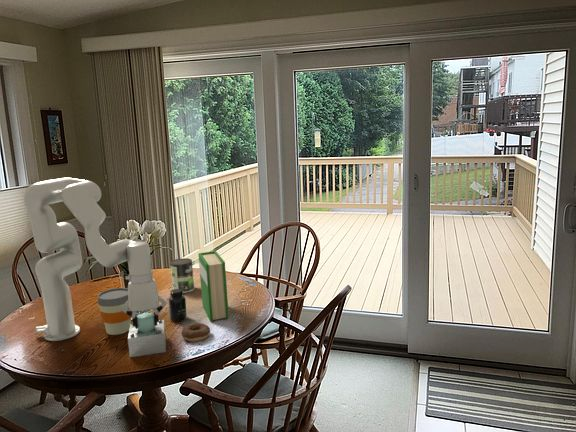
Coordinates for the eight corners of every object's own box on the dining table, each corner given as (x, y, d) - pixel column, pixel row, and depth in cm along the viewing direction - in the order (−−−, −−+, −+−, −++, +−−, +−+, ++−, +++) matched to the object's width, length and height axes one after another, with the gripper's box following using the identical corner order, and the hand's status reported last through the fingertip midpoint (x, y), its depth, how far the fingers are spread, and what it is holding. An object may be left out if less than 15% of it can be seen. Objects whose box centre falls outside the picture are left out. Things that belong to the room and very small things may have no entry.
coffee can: (198, 286, 232) (195, 258, 229) (188, 294, 222) (185, 265, 219) (179, 285, 235) (176, 257, 232) (168, 292, 225) (165, 264, 222)
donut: (177, 336, 180) (176, 326, 179) (202, 328, 186) (201, 318, 185) (189, 346, 172) (188, 336, 171) (215, 337, 178) (214, 327, 177)
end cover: (139, 352, 168) (136, 320, 166) (139, 344, 174) (136, 314, 172) (157, 348, 170) (154, 318, 168) (156, 341, 176) (153, 311, 173)
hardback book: (228, 319, 193) (224, 262, 188) (210, 322, 190) (206, 264, 186) (219, 303, 209) (215, 250, 204) (202, 306, 207) (198, 253, 202)
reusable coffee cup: (132, 320, 196) (128, 285, 193) (138, 331, 185) (133, 295, 182) (99, 327, 190) (95, 291, 187) (103, 339, 179) (98, 302, 176)
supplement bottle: (183, 322, 191) (180, 294, 189) (167, 321, 193) (164, 293, 190) (189, 315, 198) (187, 288, 196) (174, 314, 199) (171, 287, 197)
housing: (129, 357, 165) (127, 336, 163) (132, 342, 176) (130, 322, 175) (165, 352, 168) (163, 331, 166) (165, 337, 179) (163, 318, 178)
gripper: (114, 284, 161) (120, 334, 164) (167, 277, 166) (172, 325, 170) (115, 277, 168) (120, 325, 171) (165, 271, 173) (170, 317, 177)
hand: (146, 325), depth 170 cm, fingers closed on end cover, 6 cm apart
